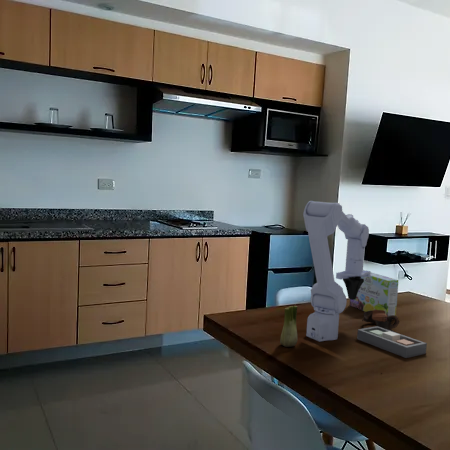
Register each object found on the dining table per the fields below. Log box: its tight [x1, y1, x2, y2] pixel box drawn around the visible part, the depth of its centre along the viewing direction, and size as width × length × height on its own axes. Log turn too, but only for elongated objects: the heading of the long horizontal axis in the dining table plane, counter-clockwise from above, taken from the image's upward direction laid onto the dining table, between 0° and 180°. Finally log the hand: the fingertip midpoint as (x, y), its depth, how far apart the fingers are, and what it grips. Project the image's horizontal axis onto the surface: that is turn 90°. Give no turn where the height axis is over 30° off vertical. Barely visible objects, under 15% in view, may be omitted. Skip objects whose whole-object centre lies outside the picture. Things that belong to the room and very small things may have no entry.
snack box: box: [349, 269, 399, 320], centre depth 191 cm, size 21×6×15 cm, turn 25°
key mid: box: [382, 330, 400, 342], centre depth 147 cm, size 4×4×2 cm
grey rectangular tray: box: [356, 325, 428, 359], centre depth 147 cm, size 9×18×4 cm, turn 33°
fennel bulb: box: [279, 305, 298, 348], centre depth 145 cm, size 6×5×12 cm
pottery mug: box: [361, 310, 400, 331], centre depth 166 cm, size 12×10×8 cm
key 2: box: [396, 339, 414, 346], centre depth 143 cm, size 4×4×2 cm
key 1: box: [369, 330, 383, 337], centre depth 152 cm, size 4×4×2 cm
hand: (351, 298), depth 166 cm, fingers closed
